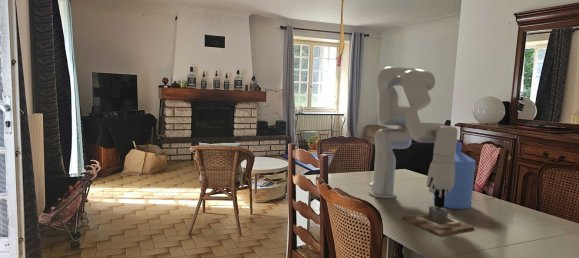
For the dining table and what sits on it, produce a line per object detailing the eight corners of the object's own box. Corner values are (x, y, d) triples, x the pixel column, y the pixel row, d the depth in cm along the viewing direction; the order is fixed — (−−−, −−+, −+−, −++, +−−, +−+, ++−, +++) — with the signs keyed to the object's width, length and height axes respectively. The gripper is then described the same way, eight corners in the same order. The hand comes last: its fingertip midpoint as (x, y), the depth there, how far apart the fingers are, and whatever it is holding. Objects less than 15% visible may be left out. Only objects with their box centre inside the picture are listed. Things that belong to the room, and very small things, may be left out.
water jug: (475, 212, 163) (482, 146, 159) (436, 207, 166) (442, 143, 162) (466, 201, 178) (472, 141, 175) (430, 197, 181) (436, 139, 178)
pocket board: (402, 218, 149) (402, 213, 149) (435, 213, 157) (435, 209, 157) (439, 236, 133) (440, 230, 133) (474, 229, 142) (474, 224, 141)
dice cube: (440, 219, 148) (442, 206, 147) (446, 223, 143) (448, 211, 142) (428, 218, 148) (429, 206, 147) (433, 223, 143) (434, 210, 142)
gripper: (449, 156, 149) (444, 201, 151) (421, 157, 142) (416, 205, 145) (466, 160, 143) (460, 207, 145) (437, 162, 136) (432, 212, 138)
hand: (438, 206), depth 145 cm, fingers closed
